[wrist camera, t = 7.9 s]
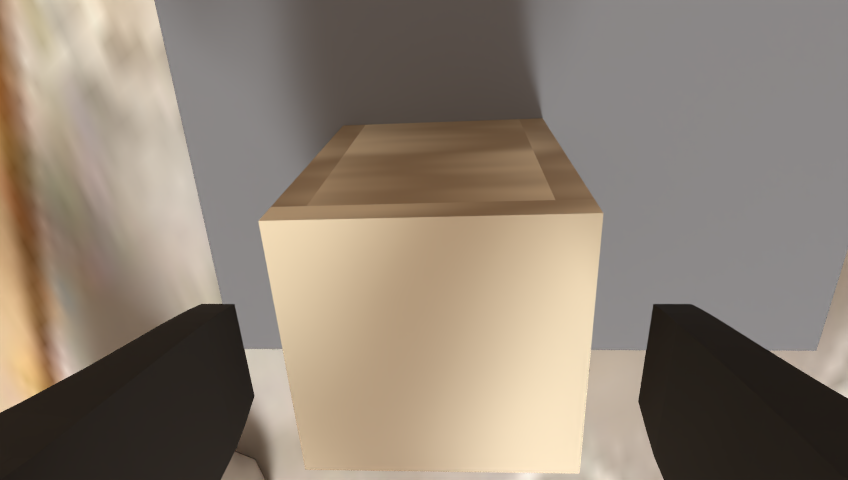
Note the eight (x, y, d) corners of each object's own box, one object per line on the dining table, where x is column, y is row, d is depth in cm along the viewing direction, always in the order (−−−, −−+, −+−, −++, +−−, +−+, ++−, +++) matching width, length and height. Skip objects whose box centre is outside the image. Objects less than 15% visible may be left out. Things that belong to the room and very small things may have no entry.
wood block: (542, 118, 14) (603, 213, 8) (535, 294, 16) (579, 473, 10) (343, 125, 14) (257, 221, 8) (362, 296, 17) (305, 470, 11)
